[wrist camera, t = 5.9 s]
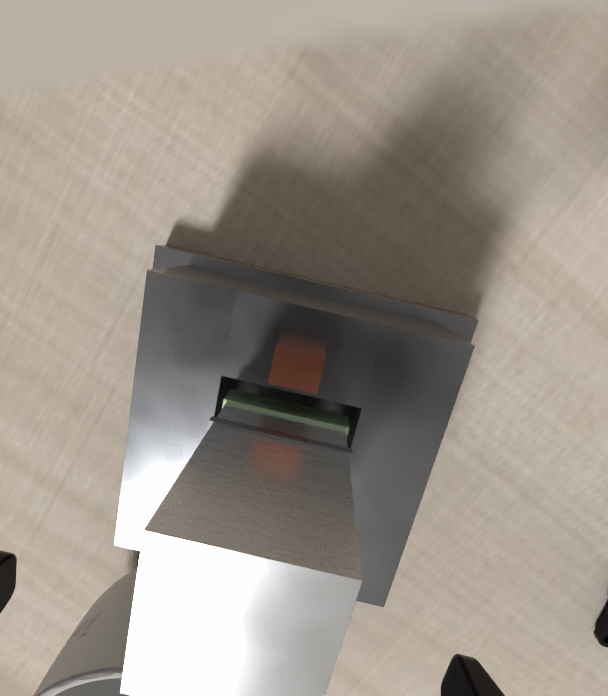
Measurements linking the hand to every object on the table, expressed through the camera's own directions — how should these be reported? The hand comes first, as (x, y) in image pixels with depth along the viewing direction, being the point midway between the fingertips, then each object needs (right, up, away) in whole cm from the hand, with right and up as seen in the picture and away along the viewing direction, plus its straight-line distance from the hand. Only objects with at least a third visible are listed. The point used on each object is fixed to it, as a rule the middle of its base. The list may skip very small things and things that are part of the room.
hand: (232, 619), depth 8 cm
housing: (+1, +3, +11) cm, 12 cm away
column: (0, +2, +6) cm, 7 cm away
